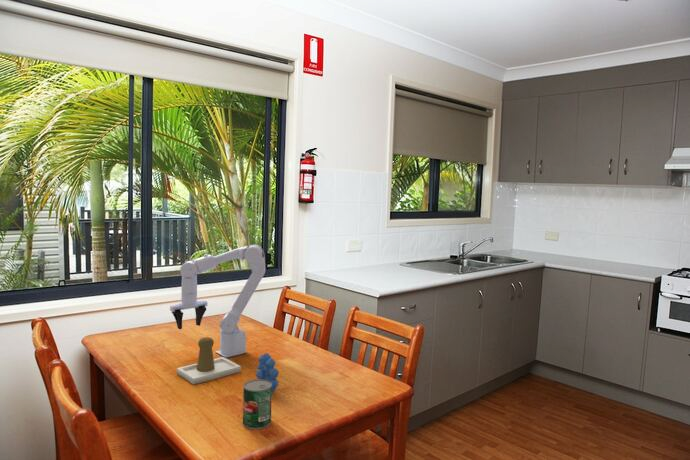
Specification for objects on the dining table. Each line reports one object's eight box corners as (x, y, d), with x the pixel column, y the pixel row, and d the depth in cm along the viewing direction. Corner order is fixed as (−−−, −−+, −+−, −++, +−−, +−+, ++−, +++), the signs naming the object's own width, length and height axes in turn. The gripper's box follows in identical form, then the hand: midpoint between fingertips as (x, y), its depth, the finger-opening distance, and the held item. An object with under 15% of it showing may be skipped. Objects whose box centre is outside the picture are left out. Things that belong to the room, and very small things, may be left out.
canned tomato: (236, 425, 136) (237, 387, 135) (252, 413, 143) (252, 377, 142) (262, 431, 133) (262, 392, 132) (276, 419, 140) (277, 382, 139)
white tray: (223, 362, 183) (223, 357, 183) (240, 371, 175) (240, 366, 174) (177, 373, 171) (177, 368, 170) (193, 384, 162) (193, 378, 162)
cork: (211, 372, 170) (212, 341, 169) (194, 371, 171) (194, 340, 170) (216, 365, 176) (217, 336, 175) (199, 365, 177) (200, 335, 176)
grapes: (247, 386, 162) (248, 351, 161) (266, 382, 166) (266, 348, 165) (263, 400, 152) (264, 362, 151) (282, 395, 156) (283, 358, 155)
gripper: (201, 288, 197) (201, 321, 199) (166, 292, 187) (166, 327, 189) (210, 291, 192) (209, 325, 194) (174, 296, 182) (174, 332, 184)
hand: (189, 326), depth 191 cm, fingers open, 7 cm apart
